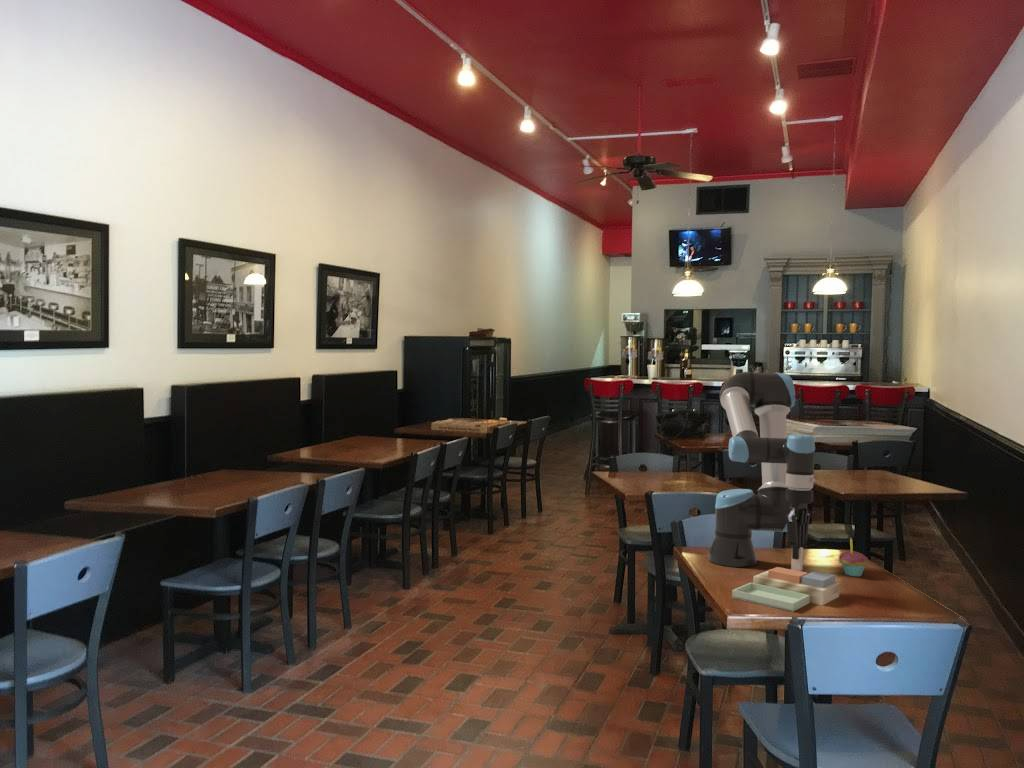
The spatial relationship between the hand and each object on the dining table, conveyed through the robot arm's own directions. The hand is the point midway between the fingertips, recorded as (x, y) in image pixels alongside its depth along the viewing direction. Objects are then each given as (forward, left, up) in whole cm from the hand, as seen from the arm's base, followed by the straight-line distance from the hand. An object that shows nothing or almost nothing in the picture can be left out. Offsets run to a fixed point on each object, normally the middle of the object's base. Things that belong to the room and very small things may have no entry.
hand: (796, 569), depth 238 cm
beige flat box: (+2, -5, -6) cm, 8 cm away
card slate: (+8, -4, -1) cm, 9 cm away
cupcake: (+6, +29, -6) cm, 30 cm away
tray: (0, -17, -6) cm, 18 cm away
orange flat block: (0, -6, -1) cm, 6 cm away
